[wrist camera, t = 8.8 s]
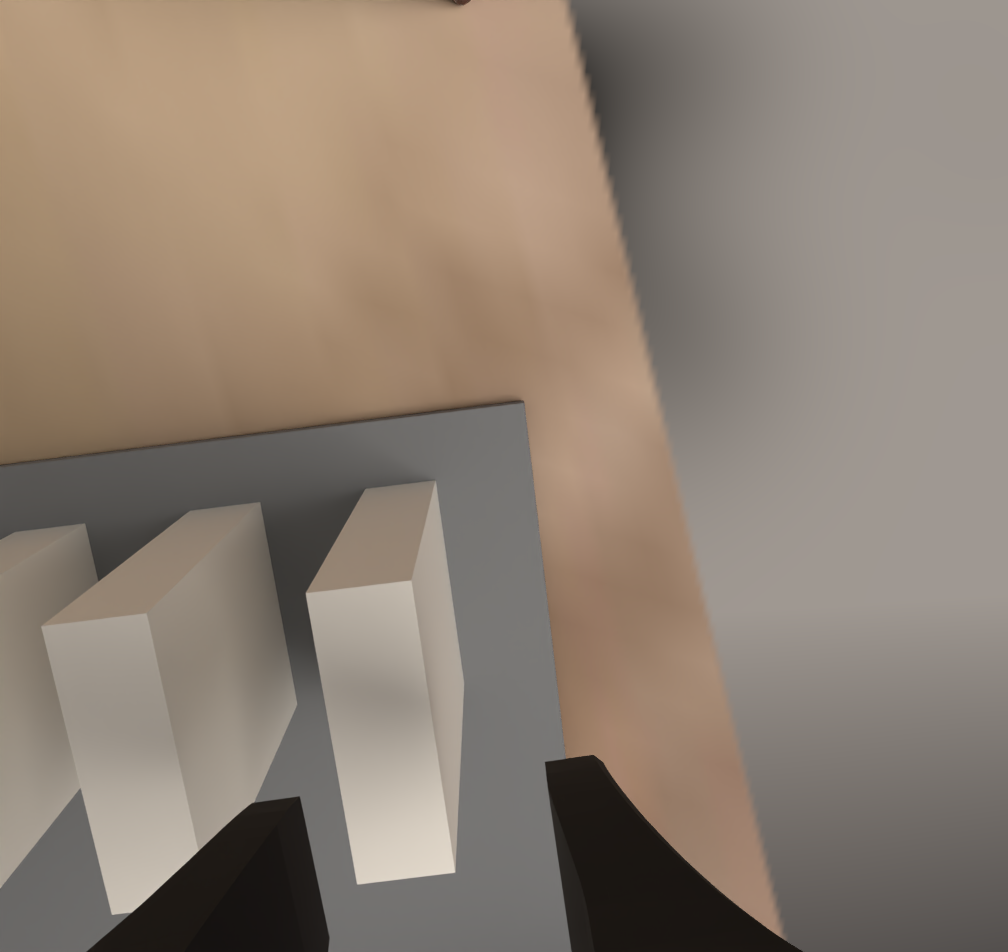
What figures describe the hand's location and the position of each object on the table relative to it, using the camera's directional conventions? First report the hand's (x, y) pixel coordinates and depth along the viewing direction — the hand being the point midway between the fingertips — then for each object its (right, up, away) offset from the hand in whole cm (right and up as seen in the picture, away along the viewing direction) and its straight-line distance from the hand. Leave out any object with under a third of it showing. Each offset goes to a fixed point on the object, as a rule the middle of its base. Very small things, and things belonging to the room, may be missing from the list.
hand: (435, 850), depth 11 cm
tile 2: (-5, +2, +10) cm, 11 cm away
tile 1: (-1, +2, +10) cm, 10 cm away
